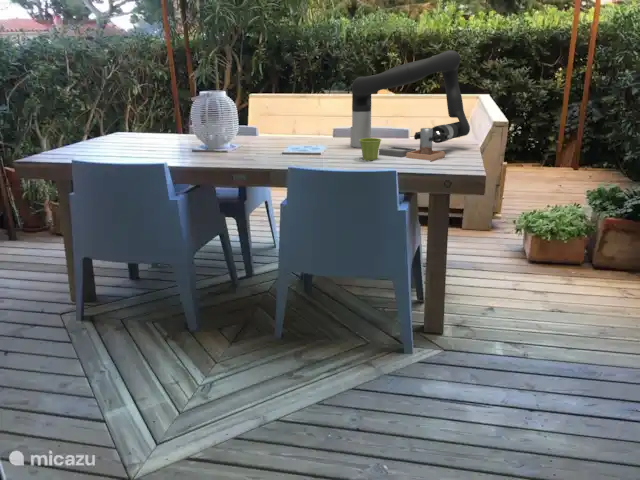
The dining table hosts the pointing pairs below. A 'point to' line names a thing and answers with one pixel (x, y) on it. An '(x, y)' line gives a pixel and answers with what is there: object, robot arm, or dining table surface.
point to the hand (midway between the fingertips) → (424, 137)
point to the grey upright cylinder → (426, 141)
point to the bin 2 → (433, 157)
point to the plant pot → (370, 148)
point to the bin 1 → (395, 151)
